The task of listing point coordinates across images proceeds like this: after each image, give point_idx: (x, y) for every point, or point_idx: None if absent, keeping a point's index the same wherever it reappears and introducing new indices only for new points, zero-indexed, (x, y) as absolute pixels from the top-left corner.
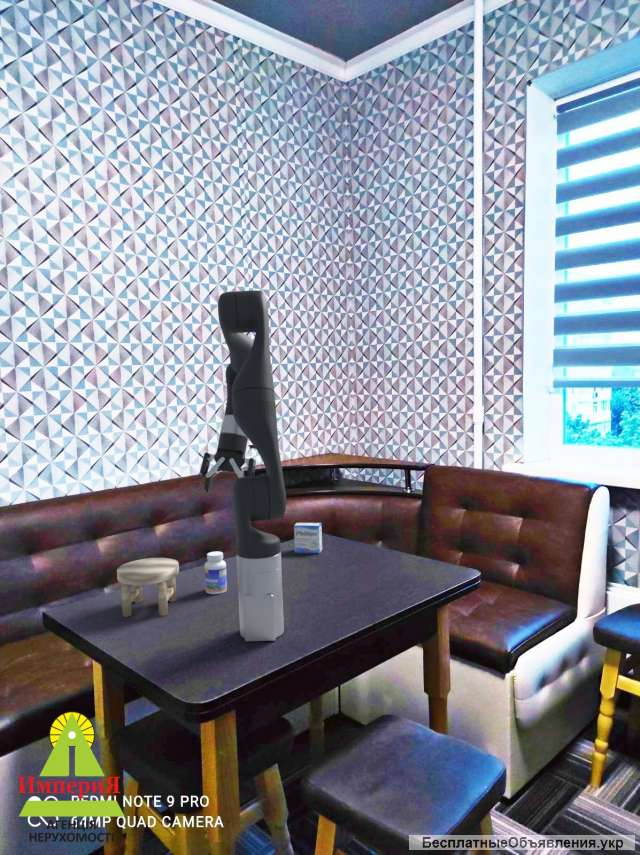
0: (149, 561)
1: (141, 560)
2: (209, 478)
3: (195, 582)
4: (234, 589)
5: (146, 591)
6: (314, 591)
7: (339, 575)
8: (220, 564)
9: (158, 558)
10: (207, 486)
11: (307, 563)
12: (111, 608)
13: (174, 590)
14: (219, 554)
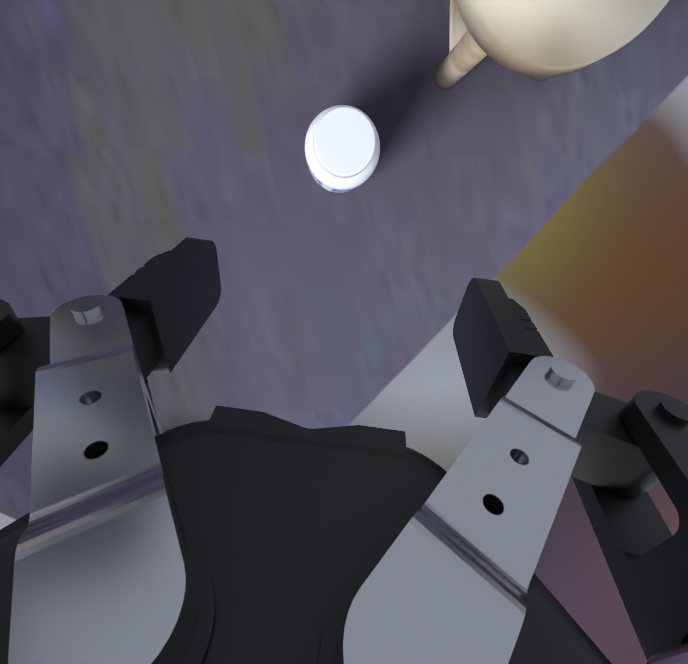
0: (590, 4)
1: (623, 25)
2: (519, 351)
3: (413, 234)
4: (288, 173)
5: (532, 160)
6: (39, 151)
7: (13, 292)
8: (317, 121)
9: (558, 54)
10: (498, 300)
11: None
12: None
13: (448, 54)
14: (323, 127)
